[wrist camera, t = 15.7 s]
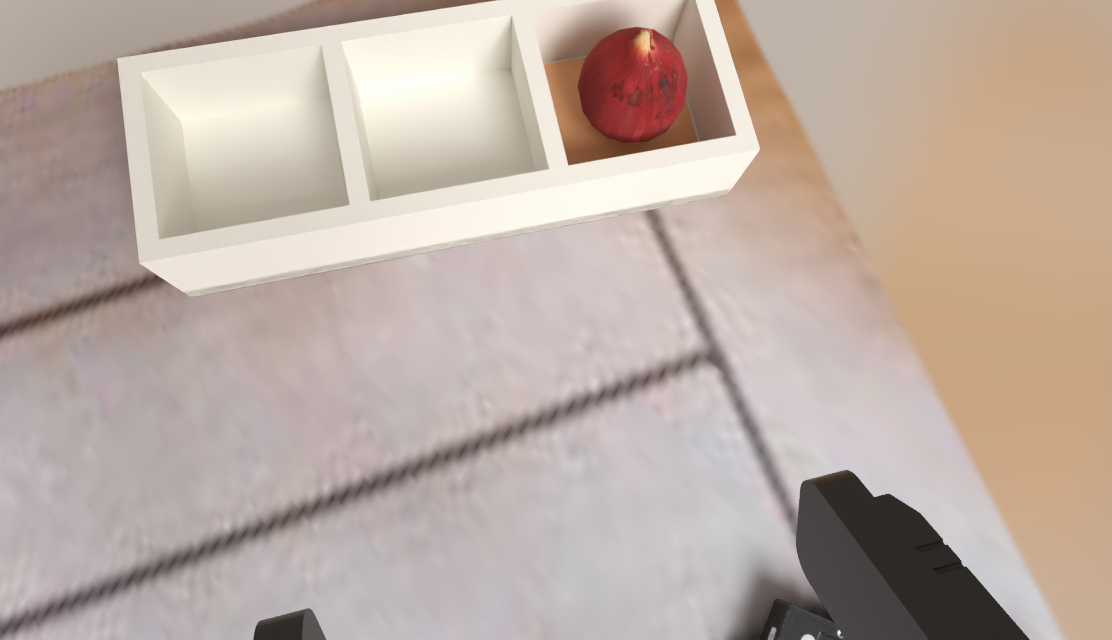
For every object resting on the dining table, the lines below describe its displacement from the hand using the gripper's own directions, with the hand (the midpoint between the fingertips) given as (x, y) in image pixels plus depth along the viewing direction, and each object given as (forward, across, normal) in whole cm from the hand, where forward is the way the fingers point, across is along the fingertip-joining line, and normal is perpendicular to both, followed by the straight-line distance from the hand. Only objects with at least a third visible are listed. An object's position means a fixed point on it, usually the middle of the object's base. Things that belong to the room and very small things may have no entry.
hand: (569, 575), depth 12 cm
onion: (+34, -11, +4) cm, 36 cm away
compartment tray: (+35, -1, +5) cm, 35 cm away
